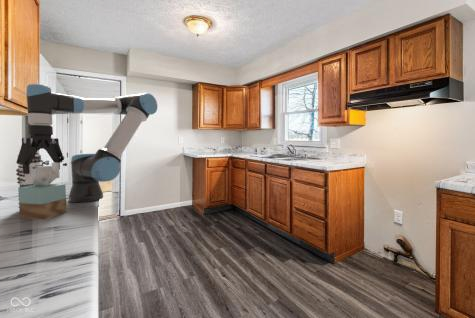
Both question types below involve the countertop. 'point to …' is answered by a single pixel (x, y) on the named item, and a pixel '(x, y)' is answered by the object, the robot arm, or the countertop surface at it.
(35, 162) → the decorative candle
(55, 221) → the countertop surface
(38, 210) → the tower base
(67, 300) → the countertop surface
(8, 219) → the countertop surface
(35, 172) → the die
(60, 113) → the robot arm
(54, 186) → the tower top
